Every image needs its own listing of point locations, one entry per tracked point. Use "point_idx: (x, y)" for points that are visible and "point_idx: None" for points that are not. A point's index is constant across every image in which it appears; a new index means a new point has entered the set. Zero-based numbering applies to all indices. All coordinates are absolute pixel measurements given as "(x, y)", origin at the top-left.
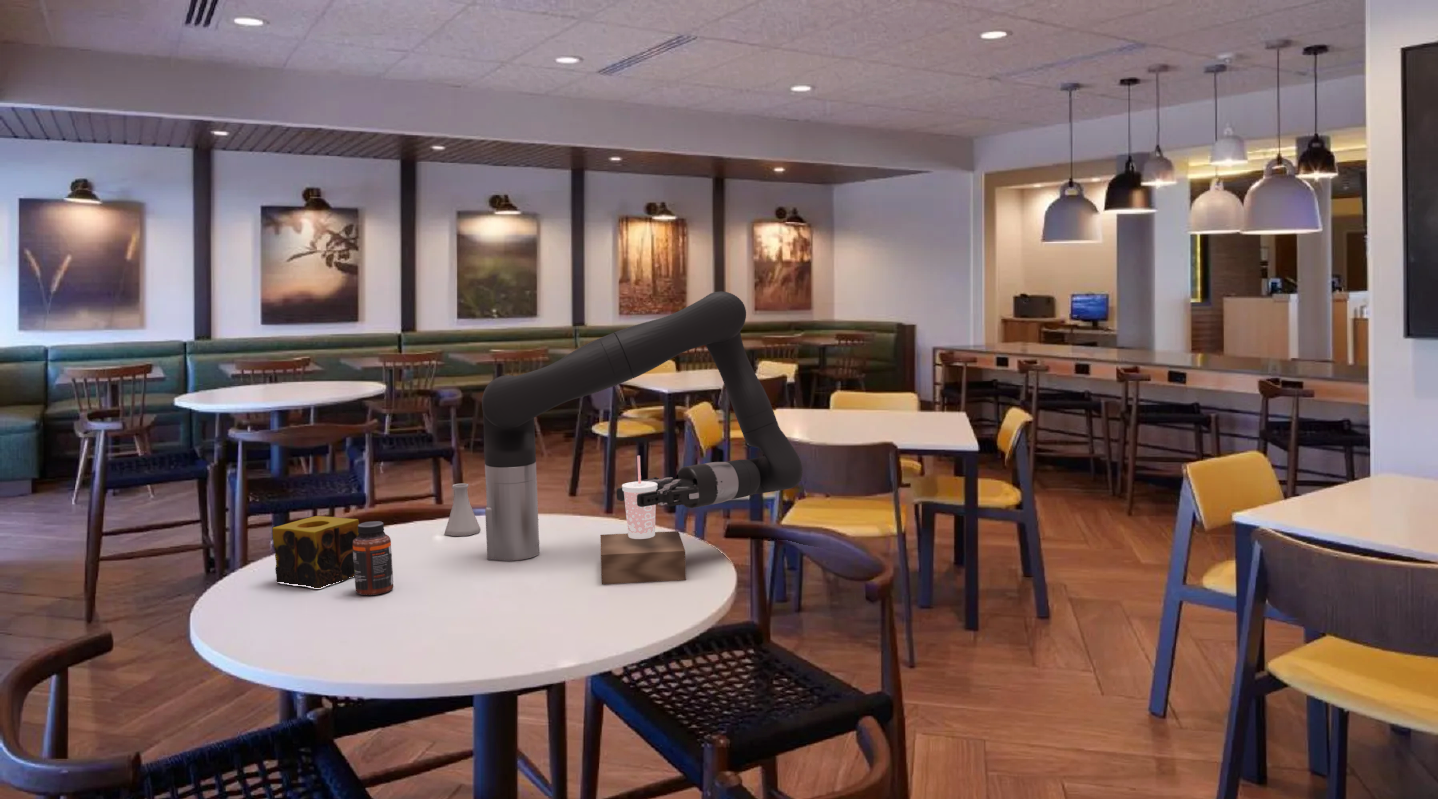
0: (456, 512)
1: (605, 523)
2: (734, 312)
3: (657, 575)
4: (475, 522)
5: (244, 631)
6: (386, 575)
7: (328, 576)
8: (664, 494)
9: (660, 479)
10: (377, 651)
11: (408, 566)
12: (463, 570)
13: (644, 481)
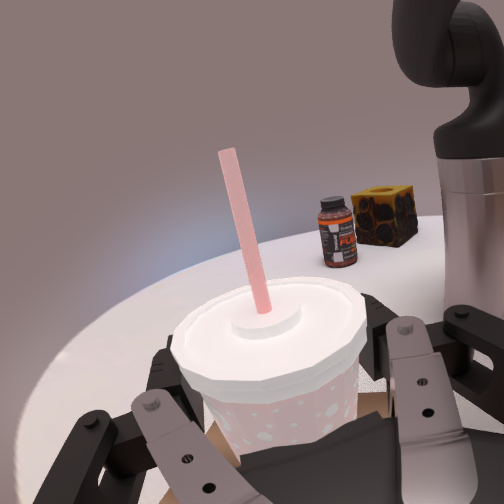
0: None
1: None
2: None
3: None
4: None
5: (274, 245)
6: (327, 251)
7: (364, 235)
8: (122, 415)
9: (451, 416)
10: (184, 287)
11: (425, 259)
12: (404, 290)
13: (351, 331)
